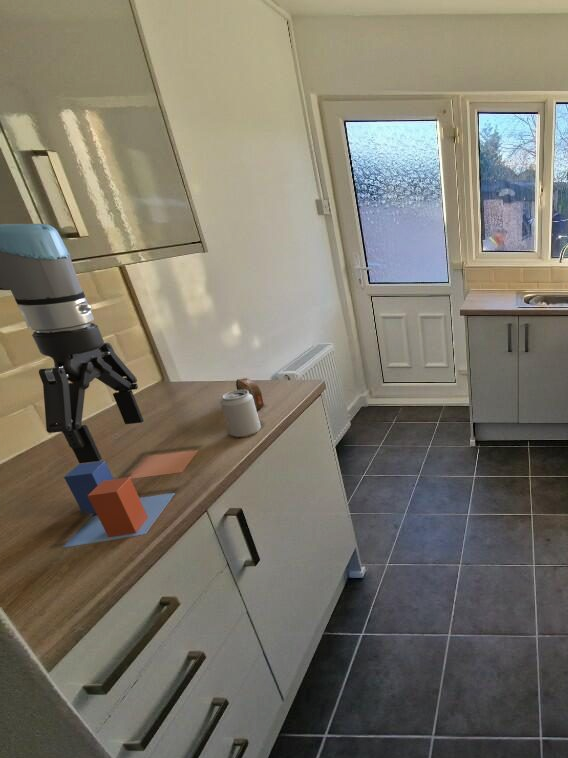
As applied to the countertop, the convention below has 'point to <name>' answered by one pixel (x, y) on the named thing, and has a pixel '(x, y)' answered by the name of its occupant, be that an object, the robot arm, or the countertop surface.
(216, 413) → the countertop surface
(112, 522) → the terracotta block
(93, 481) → the blue block
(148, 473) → the terracotta mat
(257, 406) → the brown curved piece
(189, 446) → the countertop surface
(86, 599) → the countertop surface
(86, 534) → the blue mat
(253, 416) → the can
